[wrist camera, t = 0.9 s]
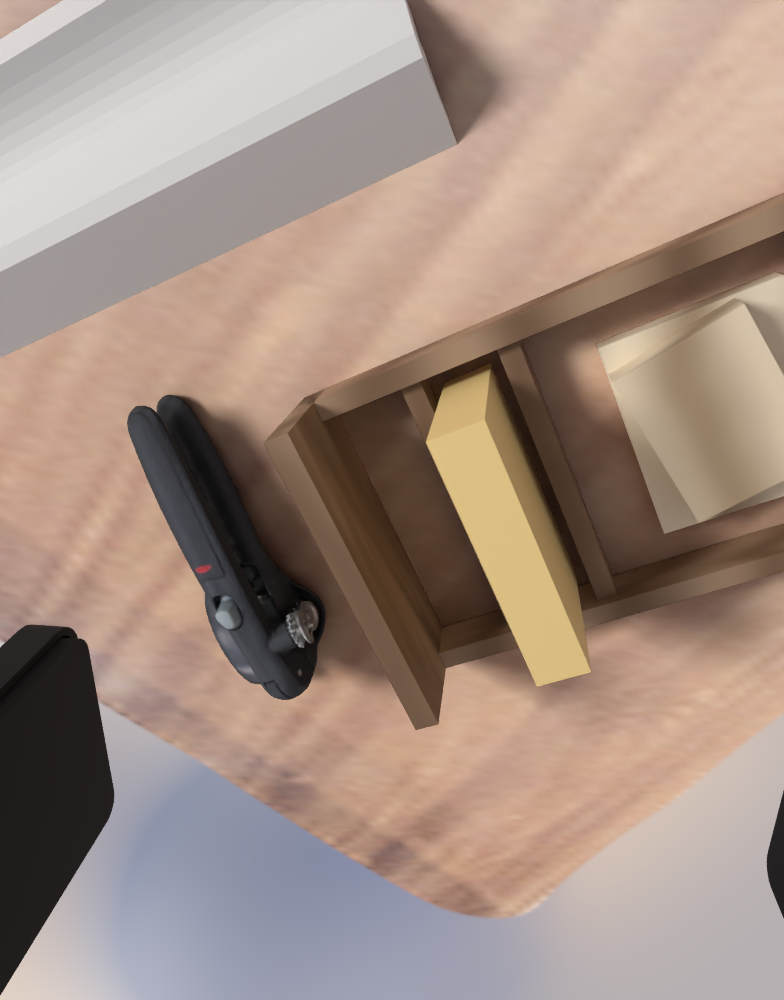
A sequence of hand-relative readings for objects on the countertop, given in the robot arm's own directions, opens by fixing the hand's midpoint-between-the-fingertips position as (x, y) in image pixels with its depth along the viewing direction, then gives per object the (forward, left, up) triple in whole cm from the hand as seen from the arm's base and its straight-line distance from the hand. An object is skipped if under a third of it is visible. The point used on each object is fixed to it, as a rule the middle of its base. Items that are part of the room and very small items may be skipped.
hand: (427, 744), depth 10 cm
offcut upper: (-8, +7, -27) cm, 29 cm away
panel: (+2, +7, -28) cm, 29 cm away
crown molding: (+14, -14, -29) cm, 35 cm away
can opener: (+17, +5, -29) cm, 34 cm away
